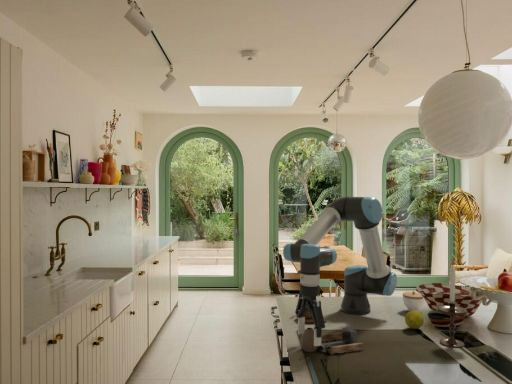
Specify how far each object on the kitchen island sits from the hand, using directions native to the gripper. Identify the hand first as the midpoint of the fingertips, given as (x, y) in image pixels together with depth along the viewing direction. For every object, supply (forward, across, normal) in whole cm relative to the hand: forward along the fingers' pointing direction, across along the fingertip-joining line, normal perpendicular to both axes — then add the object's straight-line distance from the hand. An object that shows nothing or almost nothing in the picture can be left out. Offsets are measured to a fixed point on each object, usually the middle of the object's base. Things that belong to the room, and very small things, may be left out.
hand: (309, 339), depth 163 cm
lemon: (+4, -8, +57) cm, 58 cm away
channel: (+4, 0, +13) cm, 14 cm away
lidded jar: (+4, -33, +78) cm, 85 cm away
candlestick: (+4, +13, +58) cm, 59 cm away
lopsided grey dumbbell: (+4, 0, +8) cm, 9 cm away
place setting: (+5, -39, +22) cm, 45 cm away
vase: (+5, 0, 0) cm, 5 cm away
